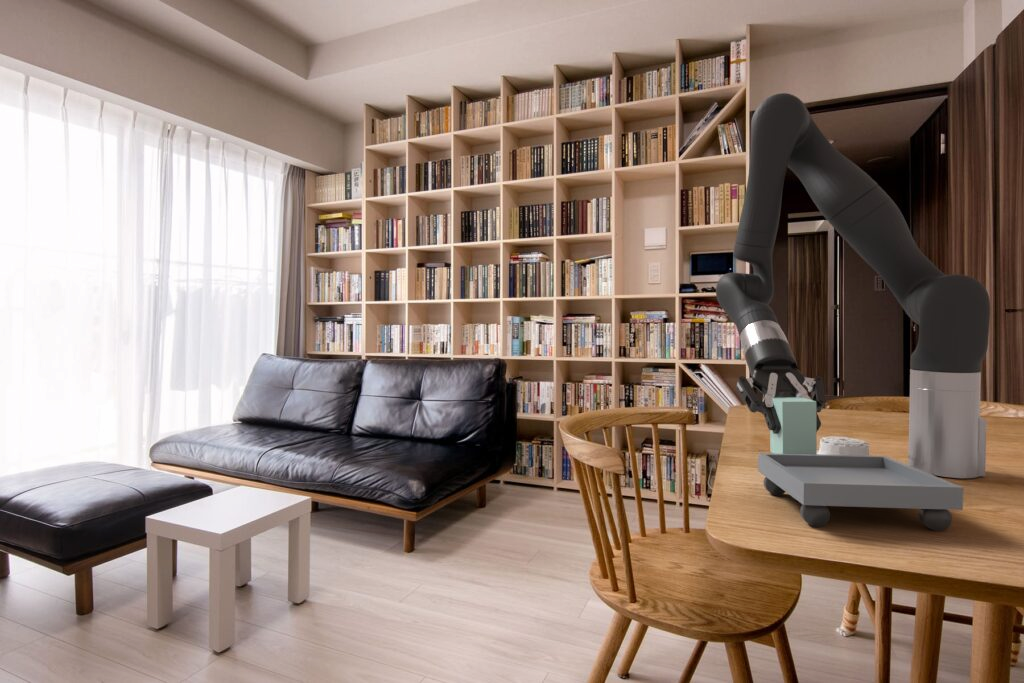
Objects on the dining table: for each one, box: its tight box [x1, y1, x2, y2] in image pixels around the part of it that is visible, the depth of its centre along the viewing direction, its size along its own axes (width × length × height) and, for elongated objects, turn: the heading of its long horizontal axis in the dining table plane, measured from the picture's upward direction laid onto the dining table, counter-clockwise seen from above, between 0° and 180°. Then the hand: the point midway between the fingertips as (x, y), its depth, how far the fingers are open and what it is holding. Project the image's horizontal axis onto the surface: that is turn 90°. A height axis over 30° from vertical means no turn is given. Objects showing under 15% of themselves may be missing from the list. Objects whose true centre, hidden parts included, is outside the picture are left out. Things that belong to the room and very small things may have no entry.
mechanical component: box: [817, 435, 870, 456], centre depth 94 cm, size 10×4×10 cm
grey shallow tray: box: [757, 452, 964, 532], centre depth 70 cm, size 18×15×6 cm
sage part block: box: [769, 397, 818, 454], centre depth 83 cm, size 5×5×9 cm
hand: (796, 430), depth 82 cm, fingers closed on sage part block, 5 cm apart
